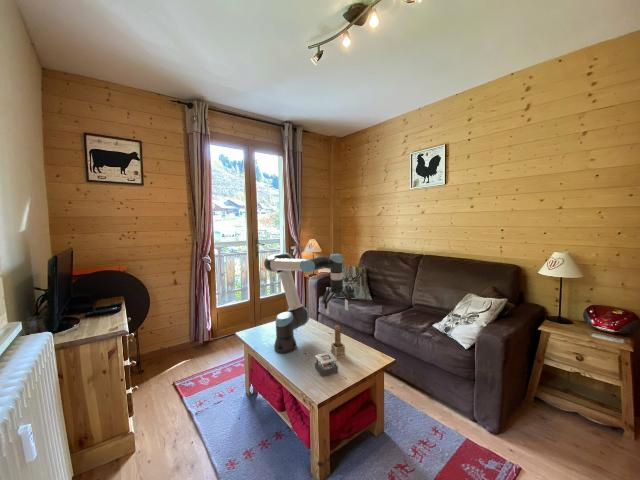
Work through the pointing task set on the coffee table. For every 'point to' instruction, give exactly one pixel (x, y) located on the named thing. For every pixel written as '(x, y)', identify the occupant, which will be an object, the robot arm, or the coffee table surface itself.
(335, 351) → the pen cup
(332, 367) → the grey button box
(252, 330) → the coffee table surface
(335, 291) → the robot arm
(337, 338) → the brown wooden rod
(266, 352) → the coffee table surface
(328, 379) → the coffee table surface
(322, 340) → the coffee table surface
